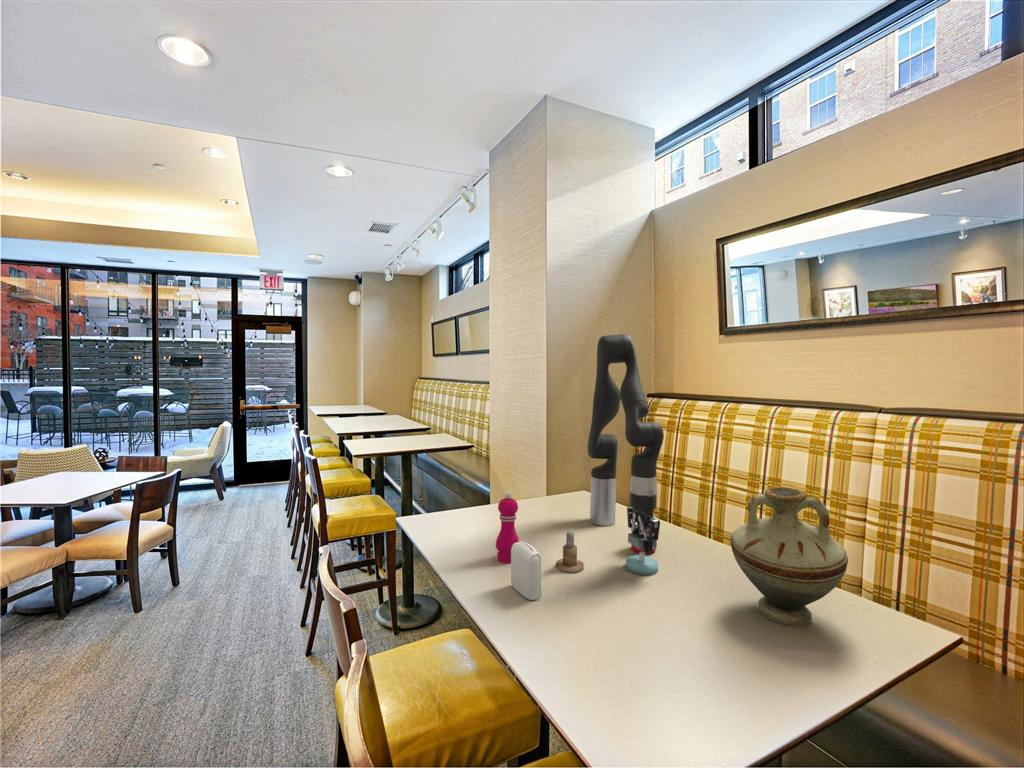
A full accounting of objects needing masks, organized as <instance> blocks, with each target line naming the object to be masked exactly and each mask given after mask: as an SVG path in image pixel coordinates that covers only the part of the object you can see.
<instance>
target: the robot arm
mask: <svg viewBox="0 0 1024 768" xmlns="http://www.w3.org/2000/svg"><path fill="white" fill-rule="evenodd" d="M596 347H597V348H596V349H597V351H596V375H595V376H596V377H595V384H594V385H595V386H594V392H593V393H594V394H593V401H592V414H591V415H592V416H591V423H590V431H589V434H588V435H589V436H588V440H587V454H588V456H589V458H591V459H595V460H598V459H599V460H606V461H605V462H604V463H602V464H600V465H597V466H594V467H593V468H592V469H591V472H590V474H591V475H590V476H591V477H590V499H589V500H590V502H589V503H590V508H589V509H590V510H589V518H590V523H592V524H594V525H597V526H605V527H607V526H608V527H609V526H613V525H615V524H616V501H617V500H616V499H617V498H616V496H617V495H616V494H617V462H618V461H617V460H618V449H619V447H618V439H617V436H616V435H615V434H611V433H609V434H604V433H602V432H603V430H604V429H605V428H606V427H607V425H608V424H610V422H612V421H613V420H614V418H615V417H616V416H617V415H618V413H619V410H620V407H621V406H620V405H622V408H623V411H624V416H625V417H624V418H625V420H624V421H625V431H624V433H625V440H626V441H627V443H628V444H629V445H630V446H632V447H634V448H635V447H636V448H638V447H640V448H644V447H645V448H644V450H643V451H642V452H640V453H637V454H634V455H632V457H631V463H630V464H631V466H630V467H631V468H630V469H631V470H630V481H629V506H628V507H627V508H626V514H627V526H628V527H627V528H629V529H630V531H632V533H640V532H639V531H640V530H641V531H642V532H643V533H644V538H645V540H644V552H645V553H646V554H649V553H652V550H653V540H657V541H658V540H659V535H660V527H661V521H660V519H657V520H655V519H654V516H653V515H654V514H653V513H654V510H655V509H657V505H658V504H657V503H658V500H657V499H658V497H657V496H658V482H657V463H658V458H659V456H660V452H661V449H662V446H663V443H664V437H665V436H664V429H663V427H662V425H661V424H660V423H658V422H656V421H640V420H642V419H645V418H646V417H647V416H648V415H649V412H650V407H649V404H648V402H647V399H646V396H645V393H644V390H643V386H642V383H641V378H640V372H639V371H640V369H639V365H638V364H639V363H638V360H637V359H638V358H637V353H636V347H635V345H634V341H633V339H632V337H631V336H630V335H629V334H625V333H623V334H621V333H620V334H610V335H609V334H608V335H602V336H601V337H600V338H599V339H598V341H597V346H596ZM620 363H621V364H623V363H624V364H625V368H626V371H625V375H624V378H623V380H622V381H621V382H622V383H621V386H620V389H619V387H618V385H617V384H616V381H614V380H613V377H612V376H611V374H610V371H609V367H610V365H612V364H620ZM601 433H602V434H601ZM645 527H649V529H645ZM647 532H649V535H647ZM653 533H655V535H654V534H653ZM649 555H650V554H649Z"/></svg>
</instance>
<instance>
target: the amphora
mask: <svg viewBox="0 0 1024 768" xmlns="http://www.w3.org/2000/svg"><path fill="white" fill-rule="evenodd" d="M760 505H765V506H767V507H769V508H771V509H772V510H773V511H772V512H773V513H772V515H771V516H769V517H763V518H758V516H757V508H758V507H759V506H760ZM806 508H811V509H814V510H815V511H816V514H817V517H818V526H813V525H812V524H810V523H808V522H805V521H801V519H799V517H798V516H799V515H798V514H799V512H801V511H802V510H804V509H806ZM747 511H748V520H747V522H746V523H744V524H741V525H740V526H738V527H737V528H735V529H734V530H733V531H732V533H731V535H730V539H729V542H730V547H731V551H732V554H733V556H734V559H735V561H736V563H737V565H738V567H739V568H740V569H741V571H742V572H743V574H744V575H745V576H746V577H747V579H748V581H749V582H750V583H752V585H753V586H754V587H755V588H756V590H757V591H758V592H760V593H761V595H762V596H761V597H760V598H759V599H758V602H757V604H758V605H757V608H758V610H759V612H760V613H761V614H762V615H763V616H765V617H766V618H768V619H770V620H771V621H774V622H776V623H779V624H783V625H789V626H795V627H796V626H798V627H799V626H801V625H802V626H807V625H808V624H810V623H811V622H812V618H813V617H812V616H813V614H812V612H811V610H810V609H809V608H808V607H807V605H810V604H813V603H815V602H817V601H819V600H821V599H823V598H824V597H826V595H828V594H830V593H831V591H833V590H834V589H835V588H837V586H838V585H839V584H840V582H841V580H842V579H843V577H844V575H845V574H846V572H847V568H848V563H849V558H848V557H849V556H848V553H847V551H846V550H845V548H844V547H843V546H842V544H841V543H840V542H839V541H837V539H835V538H833V537H832V535H831V533H830V512H829V509H828V508H827V506H826V505H825V504H824V503H823V502H822V501H821V500H819V499H818V498H816V497H814V496H808V497H807V494H806V493H805V491H803V490H800V489H798V488H792V487H769V488H766V489H765V490H764V494H763V493H757V494H754V495H753V496H751V497H750V499H748V502H747Z"/></svg>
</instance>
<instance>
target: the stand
mask: <svg viewBox="0 0 1024 768" xmlns="http://www.w3.org/2000/svg"><path fill="white" fill-rule="evenodd" d="M565 543H566V544H564V545H562V558H560V559H558V560H557V561H555V568H556V570H558V571H560V572H563V573H566V574H567V573H568V574H577V573H578V574H579V573H581V572H582V571H584V567H585V566H584V565H585V564H584V562H583V561H582V560H580V559H578V546H577V545H575V533H574V531H567V532H566V539H565Z"/></svg>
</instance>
